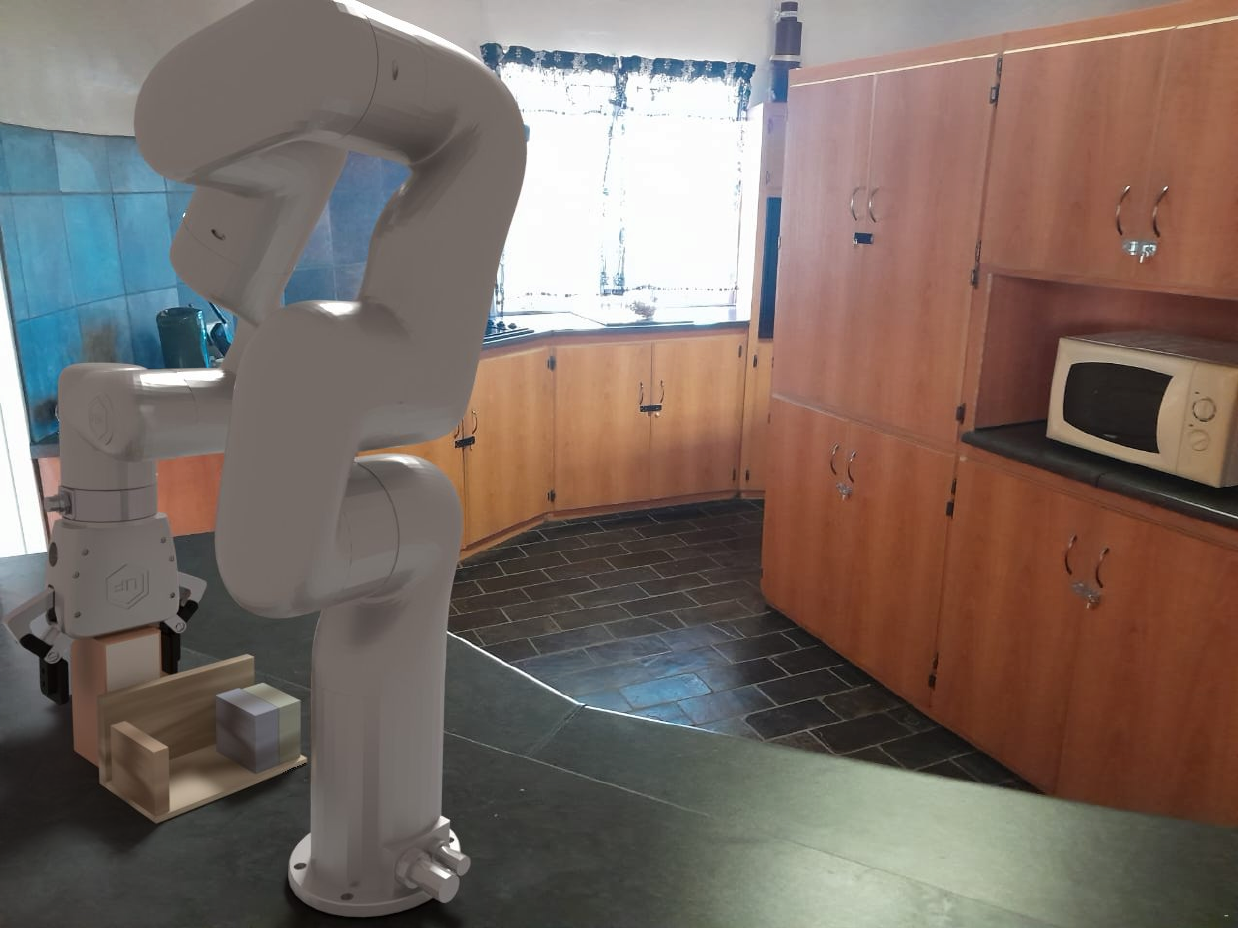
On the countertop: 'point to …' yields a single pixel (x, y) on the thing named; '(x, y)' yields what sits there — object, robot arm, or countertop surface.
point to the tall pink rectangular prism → (108, 676)
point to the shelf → (195, 737)
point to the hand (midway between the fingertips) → (114, 684)
